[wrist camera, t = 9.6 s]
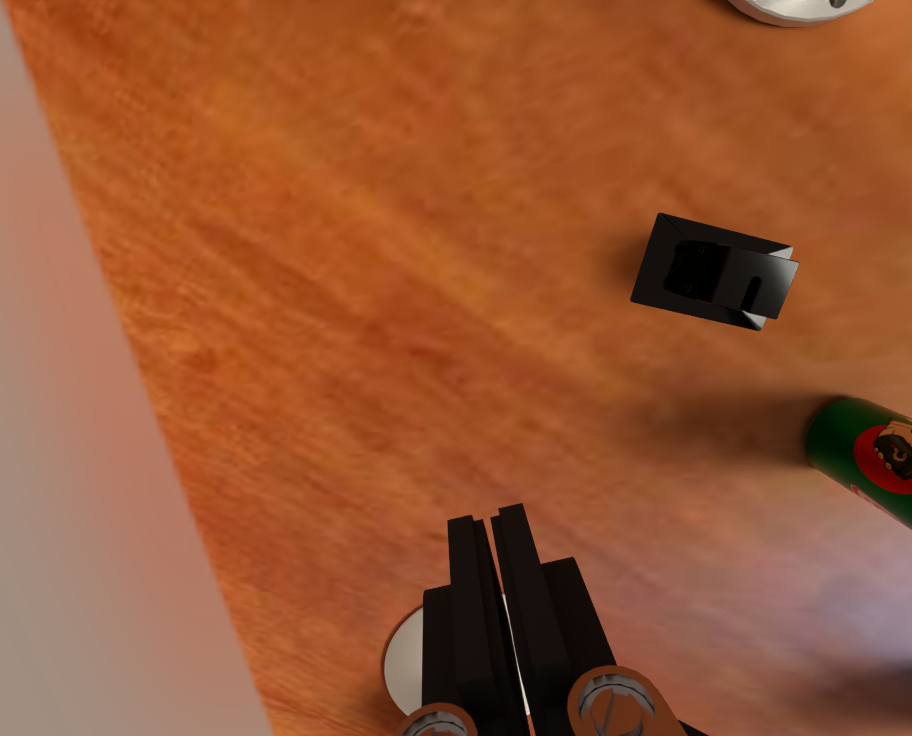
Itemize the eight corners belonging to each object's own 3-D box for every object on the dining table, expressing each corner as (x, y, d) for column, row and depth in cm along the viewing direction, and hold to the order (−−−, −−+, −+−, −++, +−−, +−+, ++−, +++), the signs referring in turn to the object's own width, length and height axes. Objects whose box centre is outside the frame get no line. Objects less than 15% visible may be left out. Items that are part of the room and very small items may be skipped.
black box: (584, 309, 30) (613, 326, 25) (624, 177, 28) (663, 170, 23) (778, 353, 31) (837, 376, 27) (829, 231, 29) (901, 234, 25)
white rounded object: (361, 619, 34) (360, 621, 33) (540, 570, 34) (541, 572, 33) (413, 749, 37) (413, 752, 37) (575, 705, 37) (576, 708, 37)
